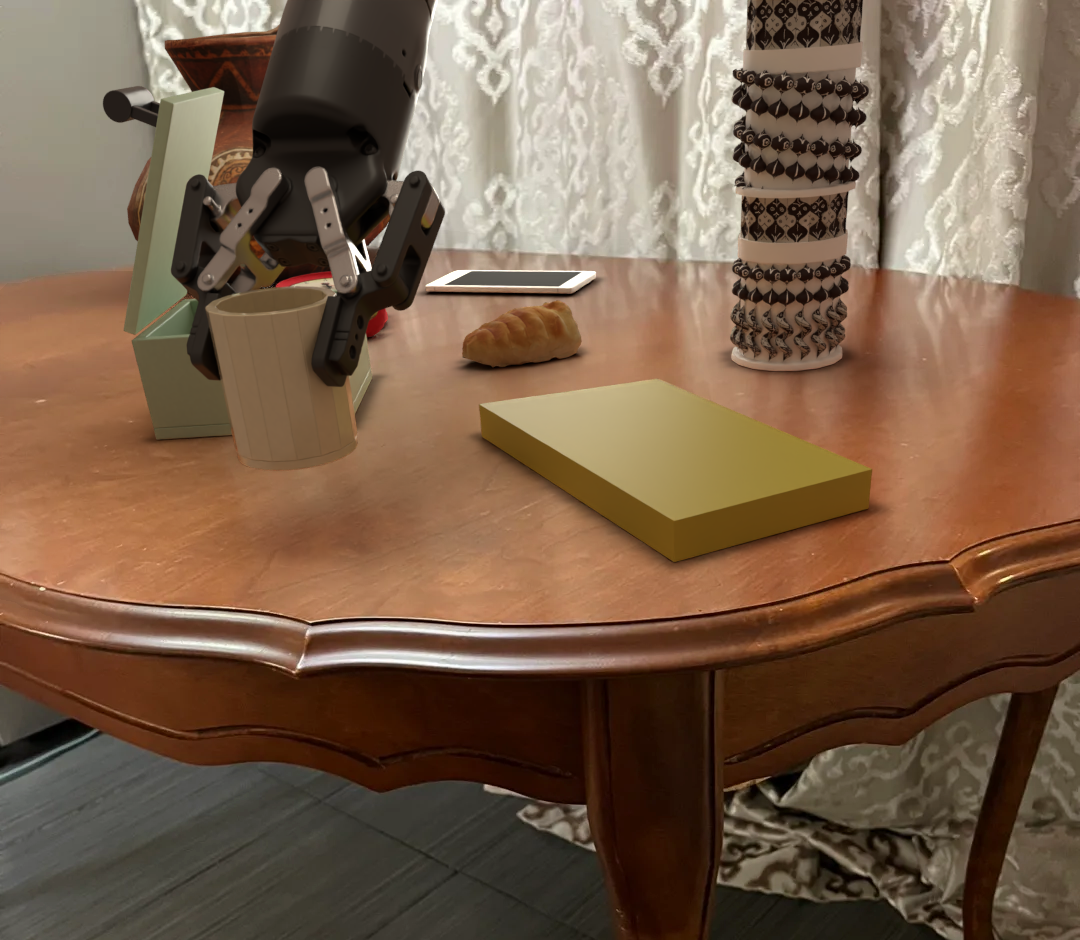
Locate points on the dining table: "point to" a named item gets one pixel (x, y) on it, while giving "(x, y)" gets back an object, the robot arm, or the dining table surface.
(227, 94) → the jug
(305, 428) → the tan cup
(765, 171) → the bracelet display stand
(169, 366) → the open hinged lid box
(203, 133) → the box lid
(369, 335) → the alarm clock
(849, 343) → the dining table surface
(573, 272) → the cell phone
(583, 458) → the flat olive board
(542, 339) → the pastry
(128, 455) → the dining table surface
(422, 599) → the dining table surface
